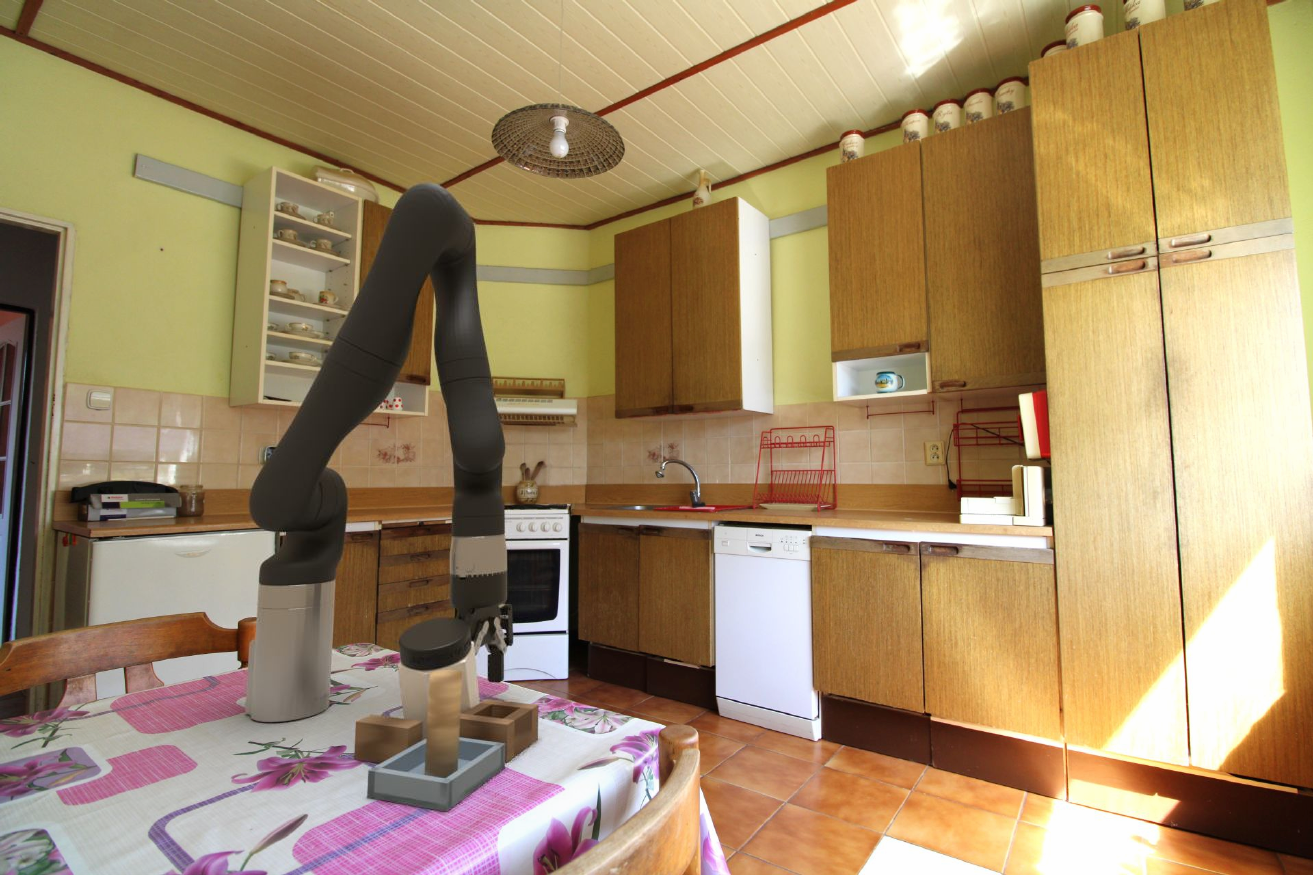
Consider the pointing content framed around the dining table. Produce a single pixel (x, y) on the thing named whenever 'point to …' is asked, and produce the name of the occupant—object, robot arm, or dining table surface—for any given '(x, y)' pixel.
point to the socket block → (502, 724)
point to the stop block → (385, 737)
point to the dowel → (443, 723)
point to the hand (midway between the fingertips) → (478, 691)
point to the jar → (435, 664)
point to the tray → (411, 787)
